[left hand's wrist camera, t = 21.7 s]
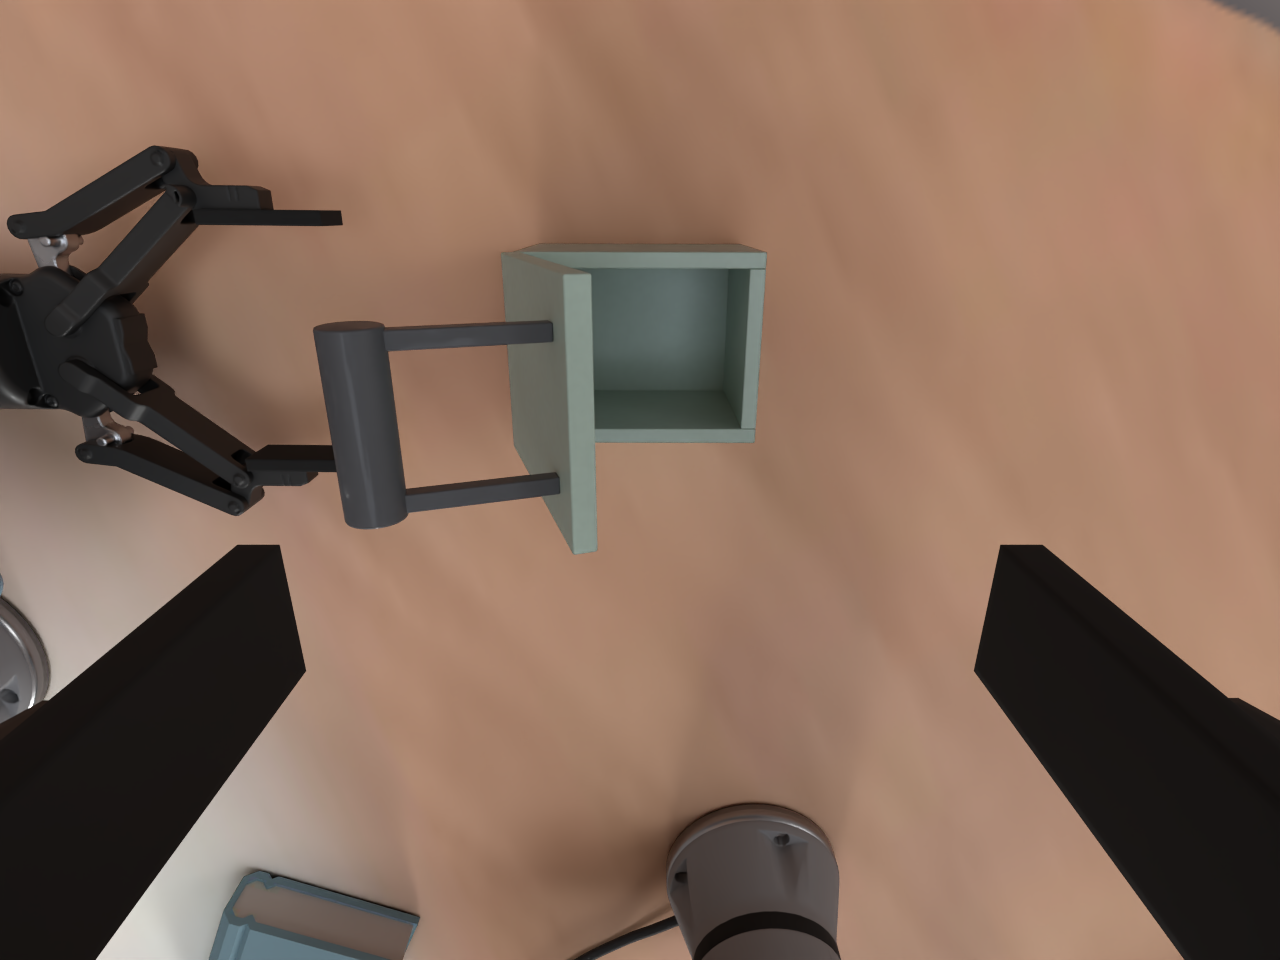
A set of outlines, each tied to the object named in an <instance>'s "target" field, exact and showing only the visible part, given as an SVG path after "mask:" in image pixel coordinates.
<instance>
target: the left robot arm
mask: <svg viewBox="0 0 1280 960" xmlns="http://www.w3.org/2000/svg"><path fill="white" fill-rule="evenodd" d="M305 672H306V668H305V663H304V659H303V654H302V649H301V644H300V640H299V635H298V630H297V625H296V621H295V616H294V611H293V606H292V602H291V597H290V592H289V587H288V583H287V578H286V573H285V568H284V564H283V559H282V554H281V550H280V545H237V546H235V547H234V548H233V549H232V550H231V551H229V552H228V553H227V554H226V555H225V556H223V557H222V558H221V559H220V560H218V561H217V562H216V563H215V564H214V565H212V566H211V567H210V568H209V569H208V570H206V571H205V572H204V573H203V574H202V575H200V576H199V577H198V578H197V579H195V580H194V581H193V582H192V583H191V584H189V585H188V586H187V587H186V588H185V589H183V590H182V591H181V592H180V593H178V594H177V595H176V596H175V597H174V598H172V599H171V600H170V601H169V602H168V603H166V604H165V605H164V606H163V607H162V608H160V609H159V610H158V611H157V612H155V613H154V614H153V615H152V616H151V617H149V618H148V619H147V620H146V621H145V622H143V623H142V624H141V625H140V626H138V627H137V628H136V629H135V630H134V631H132V632H131V633H130V634H129V635H128V636H126V637H125V638H124V639H123V640H122V641H120V642H119V643H118V644H117V645H115V646H114V647H113V648H112V649H111V650H109V651H108V652H107V653H106V654H105V655H103V656H102V657H101V658H100V659H98V660H97V661H96V662H95V663H94V664H92V665H91V666H90V667H89V668H88V669H86V670H85V671H84V672H83V673H82V674H80V675H79V676H78V677H77V678H75V679H74V680H73V681H72V682H71V683H69V684H68V685H67V686H66V687H65V688H63V689H62V690H61V691H60V692H59V693H57V694H56V695H55V696H54V697H52V698H51V699H50V700H49V701H41V702H39V703H37V704H35V705H33V706H32V707H30V708H28V709H26V710H24V711H22V712H21V713H19V714H17V715H15V716H13V717H11V718H10V719H8V720H6V721H4V722H2V723H0V960H96V958H97V957H98V956H99V954H100V953H101V952H102V950H103V949H104V947H105V946H106V945H107V943H108V942H109V941H110V939H111V938H112V936H113V935H114V934H115V932H116V931H117V930H118V928H119V927H120V925H121V924H122V923H123V921H124V920H125V919H126V917H127V916H128V915H129V913H130V912H131V910H132V909H133V908H134V906H135V905H136V904H137V902H138V901H139V899H140V898H141V897H142V895H143V894H144V893H145V891H146V890H147V888H148V887H149V886H150V884H151V883H152V882H153V880H154V879H155V877H156V876H157V875H158V873H159V872H160V871H161V869H162V868H163V866H164V865H165V864H166V862H167V861H168V860H169V858H170V857H171V856H172V854H173V853H174V851H175V850H176V849H177V847H178V846H179V845H180V843H181V842H182V840H183V839H184V838H185V836H186V835H187V834H188V832H189V831H190V829H191V828H192V827H193V825H194V824H195V823H196V821H197V820H198V818H199V817H200V816H201V814H202V813H203V812H204V810H205V809H206V807H207V806H208V805H209V803H210V802H211V801H212V799H213V798H214V797H215V795H216V794H217V792H218V791H219V790H220V788H221V787H222V786H223V784H224V783H225V781H226V780H227V779H228V777H229V776H230V775H231V773H232V772H233V770H234V769H235V768H236V766H237V765H238V764H239V762H240V761H241V759H242V758H243V757H244V755H245V754H246V753H247V751H248V750H249V748H250V747H251V746H252V744H253V743H254V742H255V740H256V739H257V738H258V736H259V735H260V733H261V732H262V731H263V729H264V728H265V727H266V725H267V724H268V722H269V721H270V720H271V718H272V717H273V716H274V714H275V713H276V711H277V710H278V709H279V707H280V706H281V705H282V703H283V702H284V700H285V699H286V698H287V696H288V695H289V694H290V692H291V691H292V689H293V688H294V687H295V685H296V684H297V683H298V681H299V680H300V679H301V677H302V676H303V674H304V673H305ZM974 672H975V673H976V674H977V676H978V677H979V679H980V680H981V681H982V683H983V684H984V685H985V687H986V688H987V689H988V691H989V692H990V694H991V695H992V696H993V698H994V699H995V700H996V702H997V703H998V705H999V706H1000V707H1001V709H1002V710H1003V711H1004V713H1005V714H1006V716H1007V717H1008V718H1009V720H1010V721H1011V722H1012V724H1013V725H1014V727H1015V728H1016V729H1017V731H1018V732H1019V733H1020V735H1021V736H1022V738H1023V739H1024V740H1025V742H1026V743H1027V744H1028V746H1029V747H1030V748H1031V750H1032V751H1033V753H1034V754H1035V755H1036V757H1037V758H1038V759H1039V761H1040V762H1041V764H1042V765H1043V766H1044V768H1045V769H1046V770H1047V772H1048V773H1049V775H1050V776H1051V777H1052V779H1053V780H1054V781H1055V783H1056V784H1057V786H1058V787H1059V788H1060V790H1061V791H1062V792H1063V794H1064V795H1065V797H1066V798H1067V799H1068V801H1069V802H1070V803H1071V805H1072V806H1073V807H1074V809H1075V810H1076V812H1077V813H1078V814H1079V816H1080V817H1081V818H1082V820H1083V821H1084V823H1085V824H1086V825H1087V827H1088V828H1089V829H1090V831H1091V832H1092V834H1093V835H1094V836H1095V838H1096V839H1097V840H1098V842H1099V843H1100V845H1101V846H1102V847H1103V849H1104V850H1105V851H1106V853H1107V854H1108V856H1109V857H1110V858H1111V860H1112V861H1113V862H1114V864H1115V865H1116V866H1117V868H1118V869H1119V871H1120V872H1121V873H1122V875H1123V876H1124V877H1125V879H1126V880H1127V882H1128V883H1129V884H1130V886H1131V887H1132V888H1133V890H1134V891H1135V893H1136V894H1137V895H1138V897H1139V898H1140V899H1141V901H1142V902H1143V904H1144V905H1145V906H1146V908H1147V909H1148V910H1149V912H1150V913H1151V915H1152V916H1153V917H1154V919H1155V920H1156V921H1157V923H1158V924H1159V925H1160V927H1161V928H1162V930H1163V931H1164V932H1165V934H1166V935H1167V936H1168V938H1169V939H1170V941H1171V942H1172V943H1173V945H1174V946H1175V947H1176V949H1177V950H1178V952H1179V953H1180V954H1181V956H1182V957H1183V958H1184V960H1280V720H1278V719H1276V718H1274V717H1272V716H1270V715H1269V714H1267V713H1265V712H1263V711H1261V710H1259V709H1258V708H1256V707H1254V706H1252V705H1250V704H1248V703H1247V702H1245V701H1243V700H1241V699H1239V698H1228V697H1226V696H1225V695H1224V694H1223V693H1221V692H1220V691H1219V690H1218V689H1217V688H1215V687H1214V686H1213V685H1212V684H1211V683H1209V682H1208V681H1207V680H1206V679H1205V678H1203V677H1202V676H1201V675H1200V674H1198V673H1197V672H1196V671H1195V670H1194V669H1192V668H1191V667H1190V666H1189V665H1188V664H1186V663H1185V662H1184V661H1183V660H1182V659H1180V658H1179V657H1178V656H1177V655H1175V654H1174V653H1173V652H1172V651H1171V650H1169V649H1168V648H1167V647H1166V646H1165V645H1163V644H1162V643H1161V642H1160V641H1158V640H1157V639H1156V638H1155V637H1154V636H1152V635H1151V634H1150V633H1149V632H1148V631H1146V630H1145V629H1144V628H1143V627H1142V626H1140V625H1139V624H1138V623H1137V622H1135V621H1134V620H1133V619H1132V618H1131V617H1129V616H1128V615H1127V614H1126V613H1125V612H1123V611H1122V610H1121V609H1120V608H1118V607H1117V606H1116V605H1115V604H1114V603H1112V602H1111V601H1110V600H1109V599H1108V598H1106V597H1105V596H1104V595H1103V594H1102V593H1100V592H1099V591H1098V590H1097V589H1095V588H1094V587H1093V586H1092V585H1091V584H1089V583H1088V582H1087V581H1086V580H1085V579H1083V578H1082V577H1081V576H1080V575H1078V574H1077V573H1076V572H1075V571H1074V570H1072V569H1071V568H1070V567H1069V566H1068V565H1066V564H1065V563H1064V562H1063V561H1062V560H1060V559H1059V558H1058V557H1057V556H1055V555H1054V554H1053V553H1052V552H1051V551H1049V550H1048V549H1047V548H1046V547H1045V546H1043V545H1000V550H999V554H998V559H997V564H996V568H995V573H994V578H993V583H992V587H991V592H990V597H989V602H988V606H987V611H986V616H985V621H984V625H983V630H982V635H981V640H980V644H979V649H978V654H977V659H976V663H975V668H974ZM666 879H667V893H668V898H669V901H670V904H671V907H672V909H673V912H674V914H675V916H672V917H670V918H667V919H665V920H662V921H660V922H657V923H654V924H652V925H649V926H646V927H643V928H641V929H638V930H635V931H632V932H630V933H627V934H625V935H623V936H620V937H618V938H616V939H614V940H612V941H609V942H607V943H605V944H603V945H601V946H599V947H597V948H595V949H593V950H591V951H589V952H587V953H585V954H583V955H581V956H580V957H578V958H576V959H574V960H595V959H597V958H599V957H601V956H603V955H606V954H608V953H610V952H612V951H614V950H617V949H619V948H621V947H623V946H626V945H628V944H630V943H633V942H636V941H638V940H641V939H644V938H647V937H650V936H653V935H655V934H658V933H661V932H663V931H666V930H668V929H671V928H674V927H676V926H679V927H680V929H681V932H682V934H683V937H684V940H685V942H686V945H687V947H688V950H689V952H690V955H691V957H692V960H841V958H840V954H839V951H838V947H837V942H836V937H837V918H838V899H839V870H838V866H837V862H836V859H835V856H834V853H833V849H832V846H831V844H830V842H829V840H828V838H827V837H826V835H825V834H824V832H823V831H822V830H821V829H820V828H819V827H818V826H817V825H816V824H815V823H813V822H812V821H811V820H809V819H808V818H806V817H804V816H803V815H801V814H799V813H796V812H794V811H791V810H789V809H785V808H782V807H777V806H772V805H761V804H749V805H738V806H733V807H728V808H724V809H721V810H718V811H715V812H712V813H710V814H708V815H706V816H704V817H702V818H700V819H698V820H697V821H695V822H694V823H692V824H691V825H690V826H689V827H687V828H686V829H685V830H684V831H683V832H682V833H681V834H680V835H679V837H678V838H677V839H676V841H675V842H674V844H673V845H672V847H671V849H670V852H669V855H668V858H667V863H666Z"/></svg>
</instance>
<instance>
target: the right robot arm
mask: <svg viewBox="0 0 1280 960" xmlns="http://www.w3.org/2000/svg"><path fill="white" fill-rule="evenodd" d="M165 190H166V191H165ZM163 191H165V193H164V194H163V195H162V196H161V197H160V198H159V199H158V201H157V202H156V203H155V204H154V205H153V206H152V207H151V209H150V210H149V211H148V212H147V213H146V214H145V215H144V216H143V218H142V219H141V220H140V221H139V222H138V223H137V224H136V226H135V227H134V228H133V229H132V230H131V231H130V232H129V233H128V235H127V236H126V237H125V238H124V239H123V240H122V241H121V243H120V244H119V245H118V246H117V247H116V248H115V249H114V250H113V252H112V253H111V254H110V255H109V256H108V257H107V258H106V260H105V261H104V262H103V263H102V264H101V265H100V266H99V267H98V268H97V269H95V270H92V271H90V272H89V273H87V274H86V273H84V272H83V271H81V270H80V269H78V268H76V267H73V266H70V265H69V262H68V257H69V255H70V253H71V252H74V251H76V250H77V249H78V248H79V246H80V245H82V244H83V242H84V240H83V238H82V236H81V235H85V234H90V233H93V232H96V231H98V230H100V229H102V228H103V227H105V226H107V225H108V224H110V223H112V222H113V221H115V220H117V219H118V218H120V217H122V216H123V215H125V214H127V213H128V212H130V211H132V210H133V209H135V208H137V207H138V206H140V205H142V204H143V203H145V202H147V201H148V200H150V199H152V198H153V197H155V196H157V195H158V194H160V193H162V192H163ZM199 225H272V226H335V225H343V223H342V216H341V211H330V210H274V209H273V203H272V197H271V191H270V190H267V189H265V188H263V187H259V186H235V185H210V184H209V183H207V182H206V181H205V180H204V179H203V178H202V176H201V175H200V173H199V171H198V160H197V158H196V156H195V155H194V154H193V153H192V152H190V151H189V150H183V149H177V148H170V147H163V146H151V147H149V148H147V149H145V150H144V151H142V152H140V153H139V154H137V155H136V156H134V157H132V158H131V159H129V160H127V161H126V162H124V163H123V164H121V165H119V166H118V167H116V168H114V169H113V170H111V171H110V172H108V173H106V174H105V175H103V176H101V177H100V178H98V179H97V180H95V181H93V182H92V183H90V184H88V185H87V186H85V187H84V188H82V189H80V190H79V191H77V192H75V193H74V194H72V195H71V196H69V197H67V198H66V199H64V200H62V201H61V202H59V203H58V204H56V205H54V206H53V207H51V208H49V209H48V210H46V211H42V212H34V213H25V214H16V215H12V216H10V217H9V218H8V220H7V226H8V229H9V231H10V233H11V234H12V235H14V236H15V237H17V238H19V239H28V242H29V244H30V247H31V249H32V252H33V254H34V257H35V259H36V262H37V264H38V267H39V268H38V269H36V270H35V271H34V272H32V273H30V274H0V409H63V410H67V411H70V412H73V413H75V414H77V415H79V416H82V421H83V426H84V432H85V438H86V442H84V443H82V444H79V445H78V446H77V447H76V448H75V453H76V456H77V457H78V458H79V460H81V461H83V462H85V463H91V464H99V465H108V466H117V467H119V468H121V469H124V470H126V471H129V472H131V473H133V474H136V475H138V476H140V477H143V478H145V479H148V480H150V481H152V482H155V483H157V484H159V485H162V486H164V487H167V488H169V489H171V490H174V491H176V492H178V493H181V494H183V495H186V496H188V497H190V498H193V499H195V500H197V501H200V502H202V503H204V504H207V505H209V506H212V507H214V508H216V509H219V510H221V511H223V512H226V513H228V514H231V515H234V516H239V515H241V514H243V513H244V512H245V511H247V510H248V509H249V508H251V507H252V506H253V505H255V504H256V503H257V502H258V501H260V500H261V499H262V498H263V497H264V493H265V492H264V489H263V488H262V487H263V486H302V485H304V484H307V483H309V482H310V481H311V480H312V479H314V478H315V477H316V476H317V475H318V472H337V470H336V465H335V459H334V453H333V447H332V445H267V446H265V447H264V448H262V449H261V450H259V451H257V452H255V451H254V450H252V449H251V448H249V447H248V446H246V445H245V444H243V443H242V442H241V441H239V440H238V439H236V438H235V437H233V436H232V435H231V434H229V433H228V432H226V431H225V430H223V429H222V428H221V427H219V426H218V425H216V424H215V423H213V422H212V421H210V420H209V419H208V418H206V417H205V416H203V415H202V414H200V413H199V412H198V411H196V410H195V409H193V408H192V407H190V406H189V405H188V404H186V403H185V402H183V401H182V400H180V399H179V398H177V397H176V396H175V391H174V390H173V389H172V388H171V387H170V386H168V385H167V384H166V383H164V382H163V381H161V380H160V379H158V378H157V377H156V376H154V375H153V374H152V372H153V368H156V367H157V363H156V359H155V355H154V353H153V351H152V349H151V347H150V345H149V343H148V341H147V333H148V327H147V323H146V318H145V314H139V312H138V310H137V309H136V307H135V306H134V305H133V304H132V303H133V302H134V301H135V300H136V299H137V298H138V297H139V296H140V295H141V294H142V292H143V291H144V290H145V289H146V288H147V287H148V285H149V283H148V281H149V279H150V278H151V277H152V276H153V275H154V274H155V273H156V272H157V271H158V269H159V268H160V267H161V266H162V265H163V264H164V263H165V262H166V261H167V260H168V258H169V257H170V256H171V255H172V254H173V253H174V252H175V251H176V250H177V249H178V248H179V246H180V245H181V244H182V243H183V242H184V241H185V240H186V239H187V238H188V237H189V235H190V234H191V233H192V232H193V231H194V230H195V229H196V228H197V227H198V226H199ZM136 391H138V392H140V393H141V394H139V395H133V394H134V393H135V392H136ZM112 411H114V412H116V413H117V414H119V415H120V416H122V417H123V418H125V419H128V420H132V421H138V422H140V423H142V424H143V425H145V426H146V427H148V428H149V429H151V430H152V431H154V432H155V433H157V434H158V435H159V436H161V437H162V438H164V439H165V440H167V441H168V442H170V443H171V444H173V445H174V446H176V447H177V448H179V449H180V450H182V451H183V452H182V451H180V450H178V449H175V448H173V447H171V446H169V445H166V444H164V443H162V442H159V441H157V440H154V439H152V438H149V437H146V436H142V435H137V434H134V430H133V428H132V427H130V426H126V427H125V426H123V425H120V424H117V423H116V422H115V421H114V420H113V419H112V418H111V416H110V412H112ZM2 590H3V579H2V576H1V574H0V596H1V593H2ZM48 682H49V669H48V663H47V659H46V655H45V653H44V650H43V648H42V645H41V643H40V641H39V639H38V638H37V636H36V634H35V633H34V631H33V630H32V629H31V627H30V626H29V624H28V623H27V622H26V621H25V620H24V619H23V617H22V616H21V615H20V614H19V613H18V612H17V611H16V610H15V609H14V608H12V607H11V606H10V605H9V604H8V603H7V602H5V601H4V600H3V599H2V598H0V723H2V722H4V721H6V720H8V719H10V718H11V717H13V716H15V715H17V714H19V713H21V712H22V711H24V710H26V709H28V708H30V707H32V706H33V705H35V704H37V703H39V702H41V701H43V699H44V697H45V695H46V692H47V688H48Z"/></svg>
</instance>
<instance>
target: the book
mask: <svg viewBox="0 0 1280 960" xmlns="http://www.w3.org/2000/svg"><path fill="white" fill-rule="evenodd" d="M419 919H420V917H417V916H414V915H410V914H407V913H403V912H400V911H397V910H393V909H390V908H386V907H383V906H379V905H376V904H372V903H369V902H366V901H362V900H359V899H355V898H352V897H348V896H345V895H341V894H338V893H335V892H331V891H328V890H324V889H321V888H317V887H314V886H310V885H307V884H303V883H300V882H297V881H293V880H290V879H286V878H283V877H276V878H273V879H272V878H271V876H270V874H269V873H266V872H262V871H258V872H255V873H252V874H250V875H247V876H244V877H243V879H242V881H241V882H240V884H239V886H238V887H237V889H236V891H235V892H234V894H233V896H232V898H231V899H230V901H229V903H228V904H227V906H226V908H225V909H224V911H223V915H222V918H221V921H220V924H219V928H218V931H217V934H216V938H215V941H214V944H213V947H212V951H211V954H210V957H209V960H403V957H404V954H405V951H406V949H407V947H408V945H409V942H410V940H411V938H412V936H413V934H414V931H415V929H416V927H417V925H418V922H419Z"/></svg>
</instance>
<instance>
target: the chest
mask: <svg viewBox="0 0 1280 960" xmlns="http://www.w3.org/2000/svg"><path fill="white" fill-rule="evenodd" d="M514 252H520V253H524V254H527V255H530V256H534V257H537V258H540V259H544V260H547V261H550V262H554V263H557V264H560V265H564V266H567V267H570V268H573V269H577V270H580V271H583V272H587V273H590V274H591V286H592V330H593V374H594V419H595V442H613V443H754V442H755V428H756V413H757V398H758V382H759V367H760V352H761V337H762V321H763V306H764V291H765V276H766V269H765V268H766V260H767V252H764V251H761V250H757V249H754V248H751V247H748V246H745V245H742V244H537V245H534V246H530V247H527V248H524V249H521V250H517V251H514Z"/></svg>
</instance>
